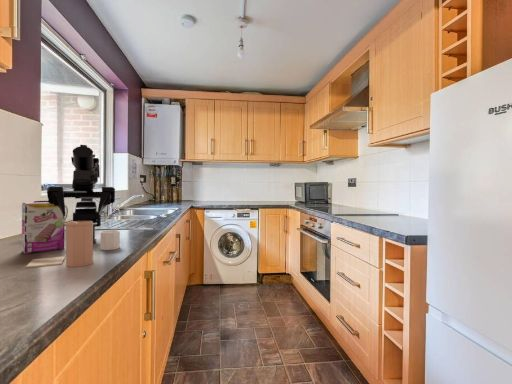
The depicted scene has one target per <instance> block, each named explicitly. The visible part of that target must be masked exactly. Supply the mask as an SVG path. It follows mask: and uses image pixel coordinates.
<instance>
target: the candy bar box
mask: <svg viewBox="0 0 512 384" xmlns="http://www.w3.org/2000/svg"><path fill="white" fill-rule="evenodd" d="M64 219H65V216H63V214H62V212H61V210H60V208H59V207H58V206H55V205H54V204H50V203H49V202H36V203H34V202H22V203H21V252H22V253H23V254H24V255H28V254H34V253H35V254H36V253H42V252H50V251H55V250H63V249H65V222H64Z"/></svg>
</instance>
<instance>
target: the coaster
mask: <svg viewBox="0 0 512 384" xmlns="http://www.w3.org/2000/svg"><path fill="white" fill-rule="evenodd" d="M64 260H66V256H56V257H55V256H54V257H46V258H45V257H43V258H35V259H34V258H32V260H31V261H30V262H28V264H27V265H26V266H25V268H26V269H29V268H39V267H49V266H50V267H51V266H57V265H63V263H64Z"/></svg>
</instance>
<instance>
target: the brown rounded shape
mask: <svg viewBox="0 0 512 384" xmlns="http://www.w3.org/2000/svg"><path fill="white" fill-rule="evenodd" d="M93 224H94V223H93V221H73V220H72V221H67V222H66V225H65V266H66V267H69V268H70V267H71V268H76V267H85V266H88V265H92V264H93V263H94V243H93Z"/></svg>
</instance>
